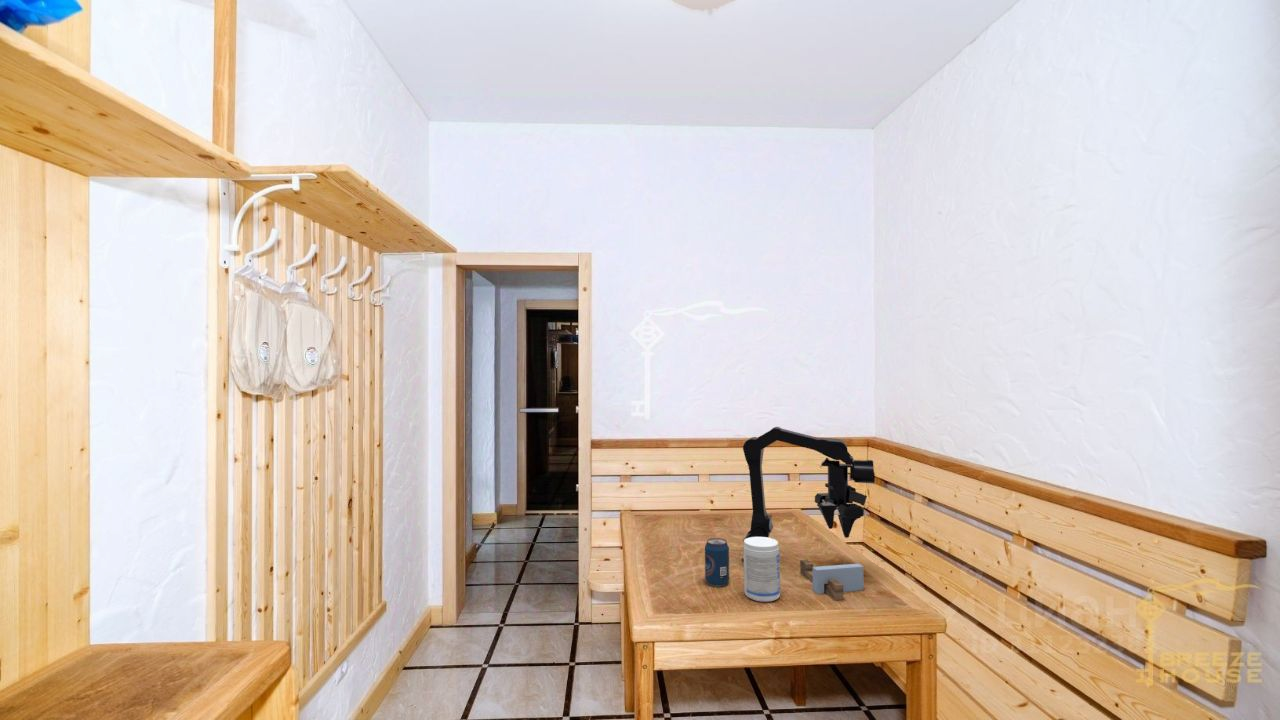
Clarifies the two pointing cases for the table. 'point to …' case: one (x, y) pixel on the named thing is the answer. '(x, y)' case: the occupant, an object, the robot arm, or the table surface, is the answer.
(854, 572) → the light blue slab
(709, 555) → the soda can
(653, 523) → the table surface
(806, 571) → the notched rail
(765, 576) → the supplement tub
